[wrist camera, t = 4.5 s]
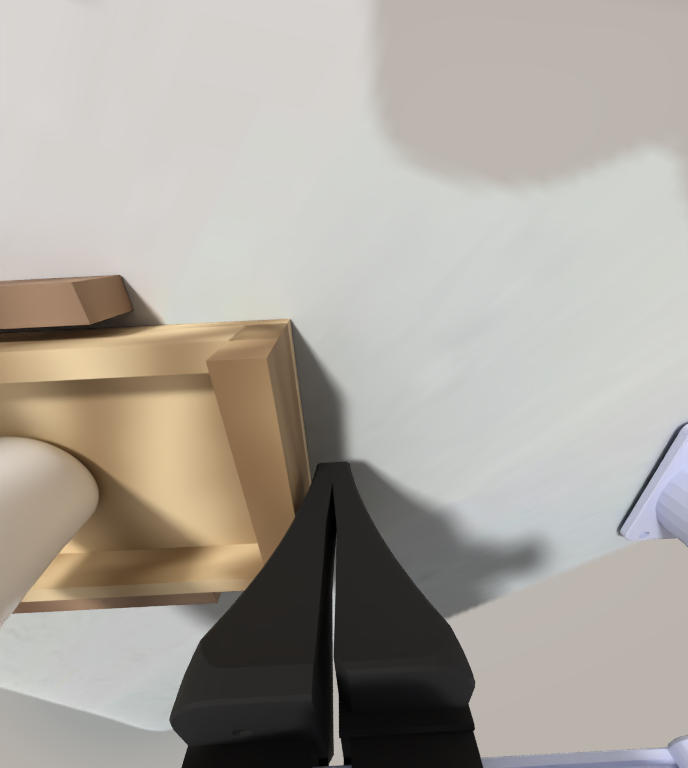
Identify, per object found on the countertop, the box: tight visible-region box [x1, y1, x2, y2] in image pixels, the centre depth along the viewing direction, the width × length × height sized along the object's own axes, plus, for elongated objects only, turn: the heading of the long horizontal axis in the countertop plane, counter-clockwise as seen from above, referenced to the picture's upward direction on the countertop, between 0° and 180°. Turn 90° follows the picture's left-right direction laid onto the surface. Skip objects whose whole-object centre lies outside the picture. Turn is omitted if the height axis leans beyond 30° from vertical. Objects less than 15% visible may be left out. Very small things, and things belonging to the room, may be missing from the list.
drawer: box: [0, 319, 311, 602], centre depth 12 cm, size 18×13×4 cm
